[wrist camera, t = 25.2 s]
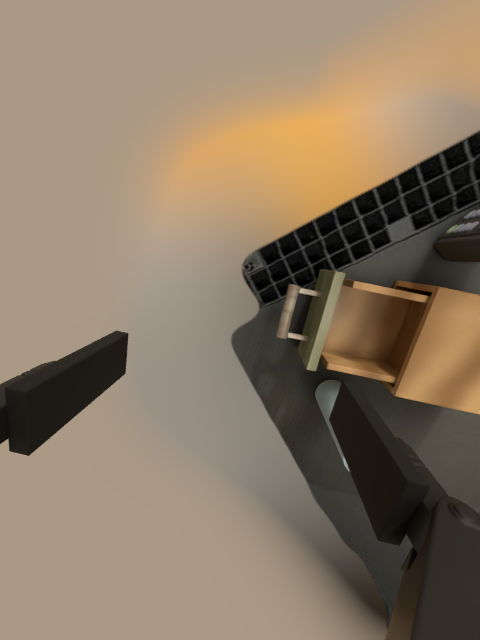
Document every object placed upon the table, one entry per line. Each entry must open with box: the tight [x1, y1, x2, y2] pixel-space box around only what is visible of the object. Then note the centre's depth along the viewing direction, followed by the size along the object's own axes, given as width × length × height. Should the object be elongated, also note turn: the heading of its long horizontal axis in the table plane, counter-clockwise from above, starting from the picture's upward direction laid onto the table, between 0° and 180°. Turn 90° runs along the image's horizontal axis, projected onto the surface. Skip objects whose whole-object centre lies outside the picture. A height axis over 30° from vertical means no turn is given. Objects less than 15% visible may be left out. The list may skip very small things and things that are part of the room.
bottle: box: [315, 380, 350, 471], centre depth 31 cm, size 5×5×16 cm
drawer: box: [276, 269, 430, 384], centre depth 32 cm, size 18×12×7 cm
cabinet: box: [379, 280, 480, 414], centre depth 31 cm, size 14×13×8 cm
